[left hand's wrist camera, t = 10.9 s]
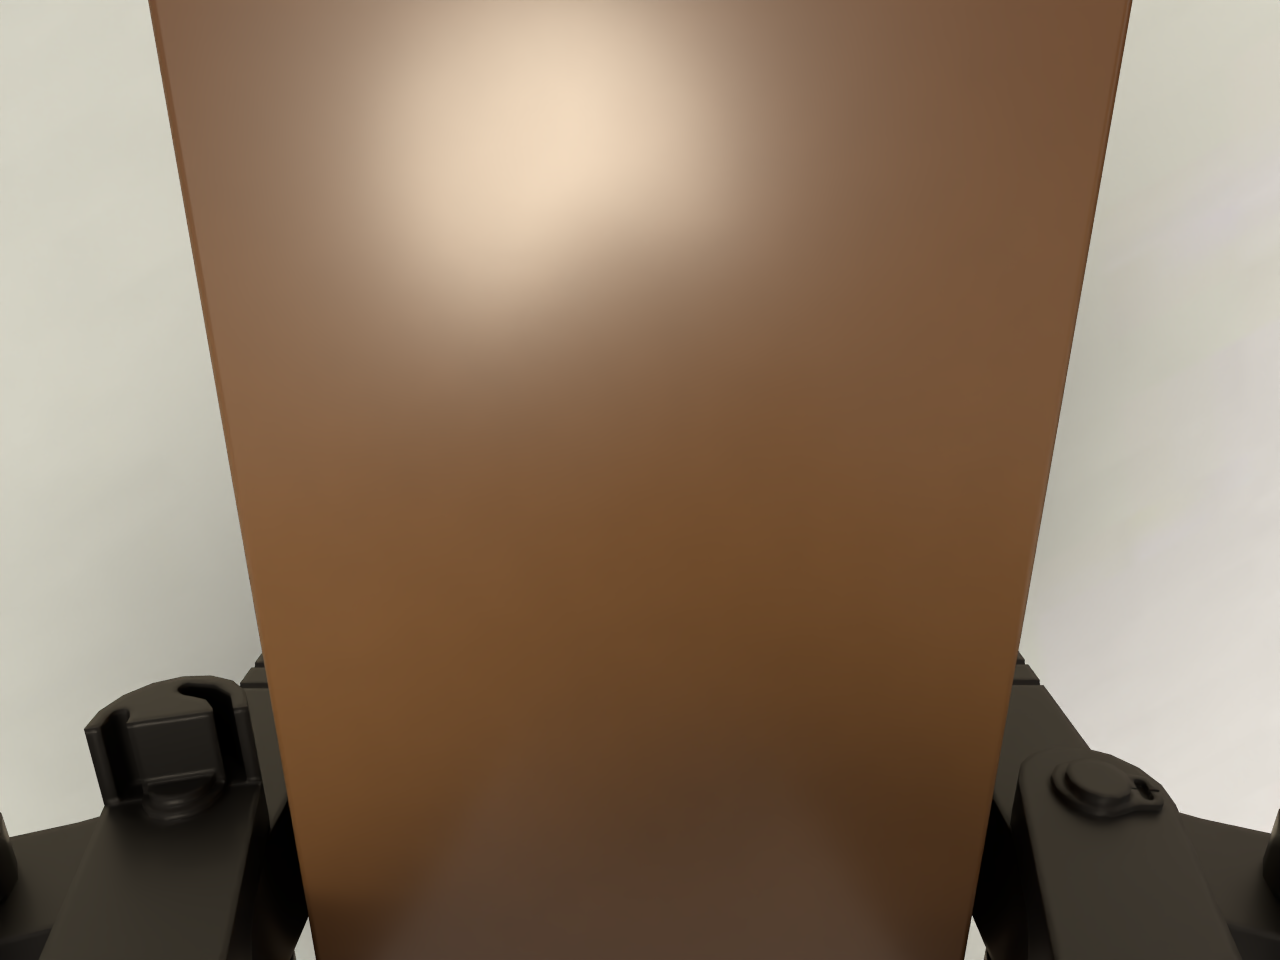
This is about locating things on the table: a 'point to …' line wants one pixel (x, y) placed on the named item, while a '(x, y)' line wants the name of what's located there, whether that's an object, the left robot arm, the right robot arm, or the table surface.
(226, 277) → the beam
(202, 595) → the table surface
